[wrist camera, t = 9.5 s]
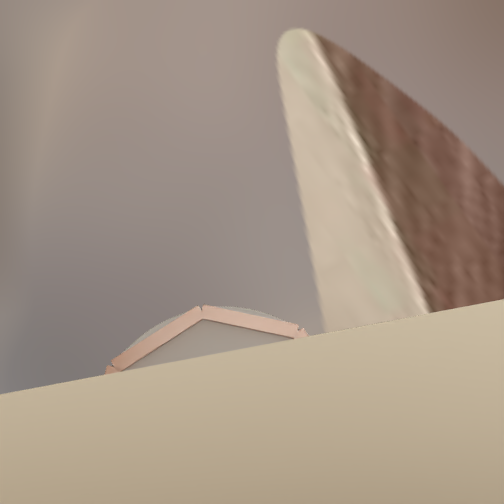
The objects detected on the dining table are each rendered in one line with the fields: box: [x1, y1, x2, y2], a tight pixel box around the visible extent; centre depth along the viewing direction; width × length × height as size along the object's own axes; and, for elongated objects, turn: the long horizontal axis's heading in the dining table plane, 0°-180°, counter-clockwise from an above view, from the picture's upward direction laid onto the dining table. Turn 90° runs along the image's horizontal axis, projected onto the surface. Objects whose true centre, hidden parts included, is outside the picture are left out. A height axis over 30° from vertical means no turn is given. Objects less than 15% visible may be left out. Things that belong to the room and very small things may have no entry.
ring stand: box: [105, 305, 308, 375], centre depth 20 cm, size 12×12×1 cm
